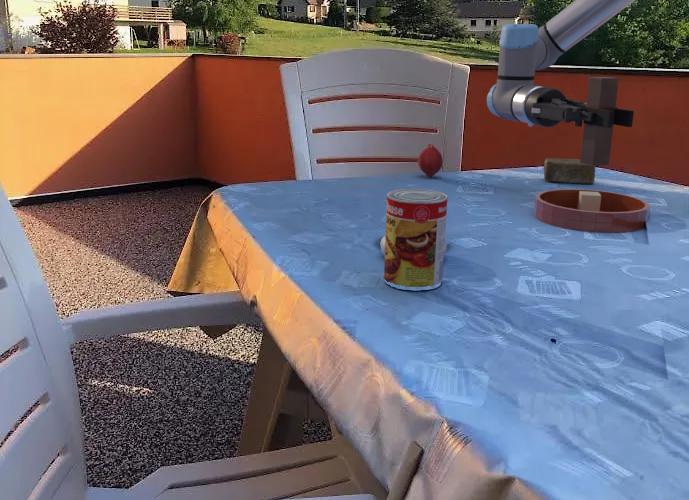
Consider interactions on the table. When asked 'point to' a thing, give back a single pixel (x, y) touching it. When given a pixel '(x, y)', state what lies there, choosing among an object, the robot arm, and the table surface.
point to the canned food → (415, 237)
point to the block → (589, 201)
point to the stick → (598, 137)
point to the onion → (430, 160)
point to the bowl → (612, 217)
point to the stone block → (568, 171)
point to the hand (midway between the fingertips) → (620, 119)
